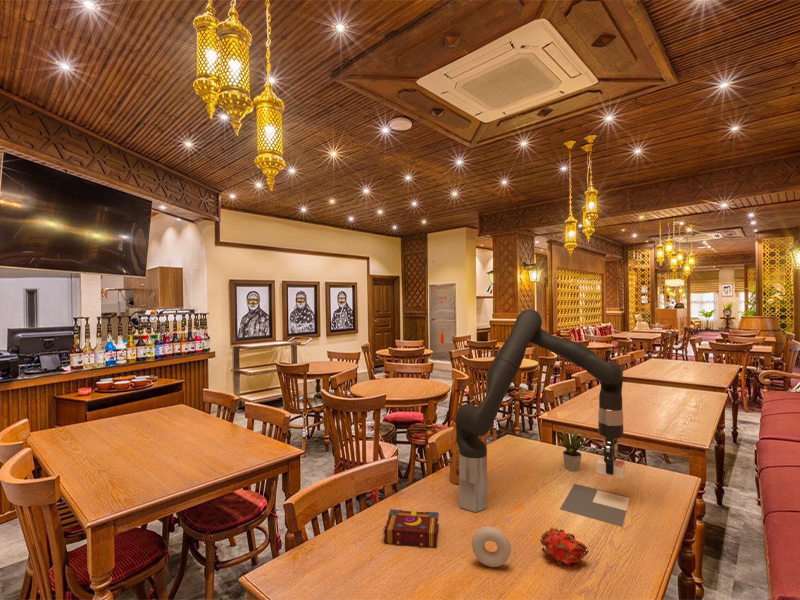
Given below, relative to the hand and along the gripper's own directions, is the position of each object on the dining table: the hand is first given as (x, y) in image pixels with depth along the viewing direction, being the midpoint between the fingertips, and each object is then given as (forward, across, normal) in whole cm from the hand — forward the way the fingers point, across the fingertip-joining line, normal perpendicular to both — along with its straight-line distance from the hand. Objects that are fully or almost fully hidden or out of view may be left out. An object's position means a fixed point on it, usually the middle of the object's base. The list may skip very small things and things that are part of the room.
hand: (610, 470), depth 137 cm
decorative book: (+11, +54, -46) cm, 72 cm away
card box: (+1, 0, 0) cm, 1 cm away
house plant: (+11, -20, -16) cm, 28 cm away
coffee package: (+11, +13, -48) cm, 51 cm away
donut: (+11, +54, -21) cm, 59 cm away
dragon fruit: (+11, +41, -6) cm, 43 cm away
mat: (+11, +5, -4) cm, 12 cm away
